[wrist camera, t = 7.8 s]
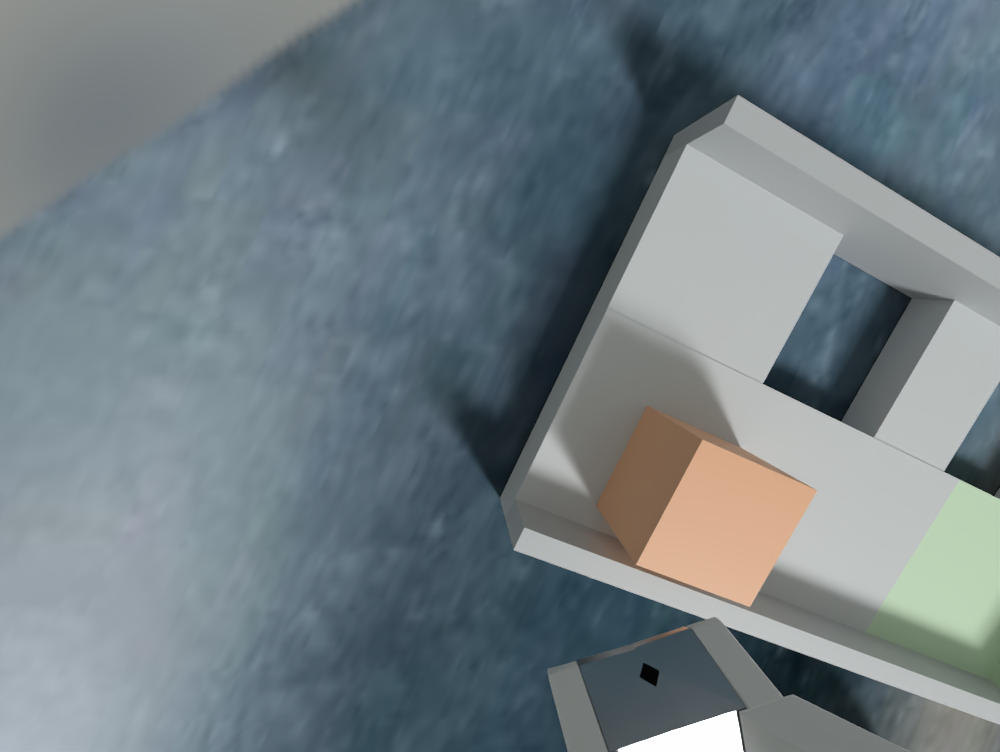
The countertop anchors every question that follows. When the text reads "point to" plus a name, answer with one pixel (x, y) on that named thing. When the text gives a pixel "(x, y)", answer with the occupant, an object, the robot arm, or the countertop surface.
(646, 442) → the block
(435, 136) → the countertop surface
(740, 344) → the tray
